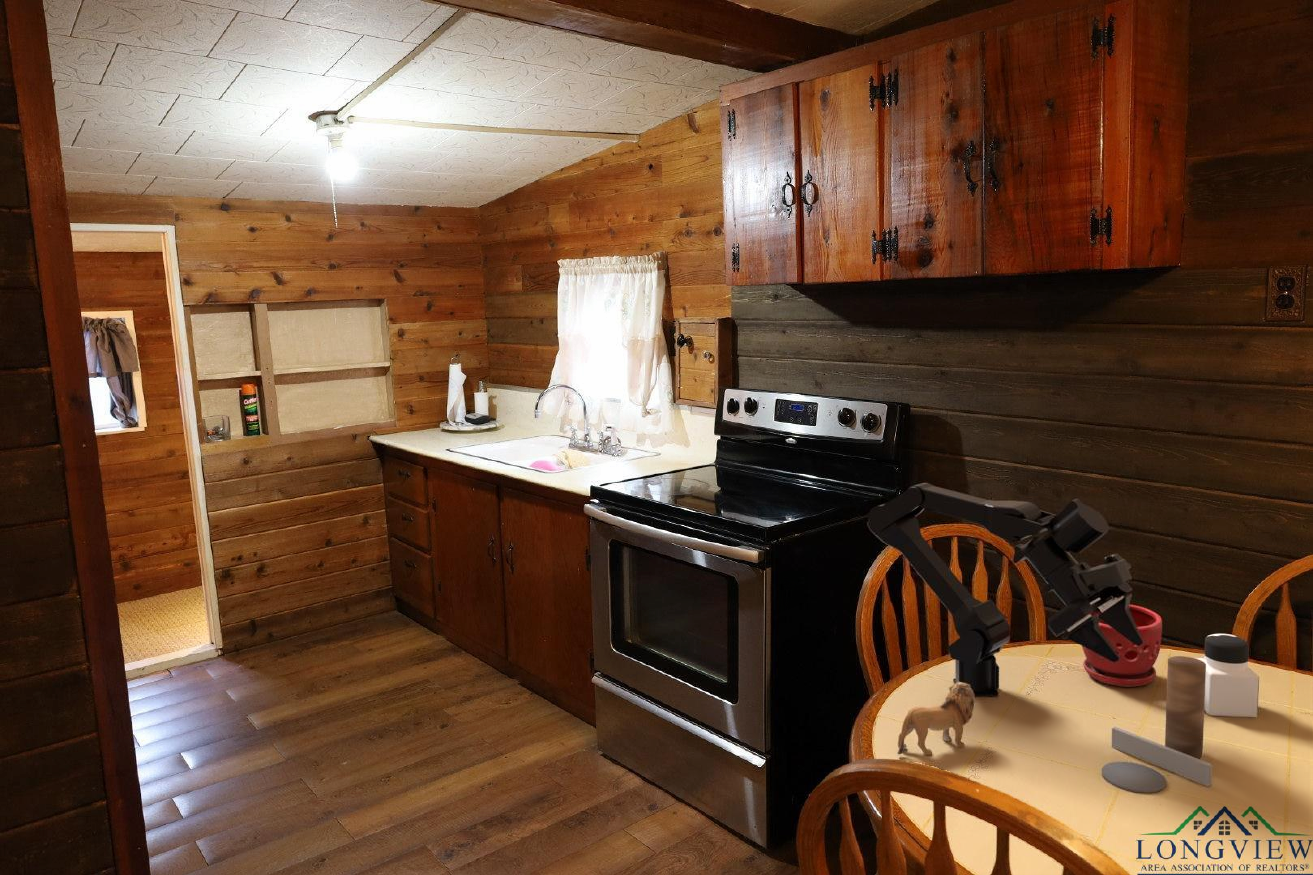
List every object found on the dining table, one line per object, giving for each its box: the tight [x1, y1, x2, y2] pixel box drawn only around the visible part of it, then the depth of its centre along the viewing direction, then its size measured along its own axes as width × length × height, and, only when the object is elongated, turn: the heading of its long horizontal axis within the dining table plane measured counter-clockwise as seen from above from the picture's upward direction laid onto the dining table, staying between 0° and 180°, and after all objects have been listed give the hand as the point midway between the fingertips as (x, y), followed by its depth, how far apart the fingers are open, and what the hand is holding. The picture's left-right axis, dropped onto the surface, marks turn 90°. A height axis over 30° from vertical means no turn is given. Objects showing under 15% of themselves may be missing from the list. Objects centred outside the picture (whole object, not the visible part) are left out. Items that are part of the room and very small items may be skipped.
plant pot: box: [1081, 604, 1163, 688], centre depth 158 cm, size 13×13×12 cm
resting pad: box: [1101, 761, 1167, 794], centre depth 125 cm, size 8×8×1 cm
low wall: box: [1111, 726, 1213, 787], centre depth 128 cm, size 14×1×3 cm, turn 30°
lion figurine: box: [896, 682, 976, 756], centre depth 136 cm, size 15×5×9 cm, turn 116°
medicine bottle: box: [1194, 633, 1260, 719], centre depth 144 cm, size 7×7×12 cm
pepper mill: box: [1164, 655, 1206, 760], centre depth 130 cm, size 5×5×14 cm
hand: (1129, 652), depth 135 cm, fingers open, 9 cm apart
